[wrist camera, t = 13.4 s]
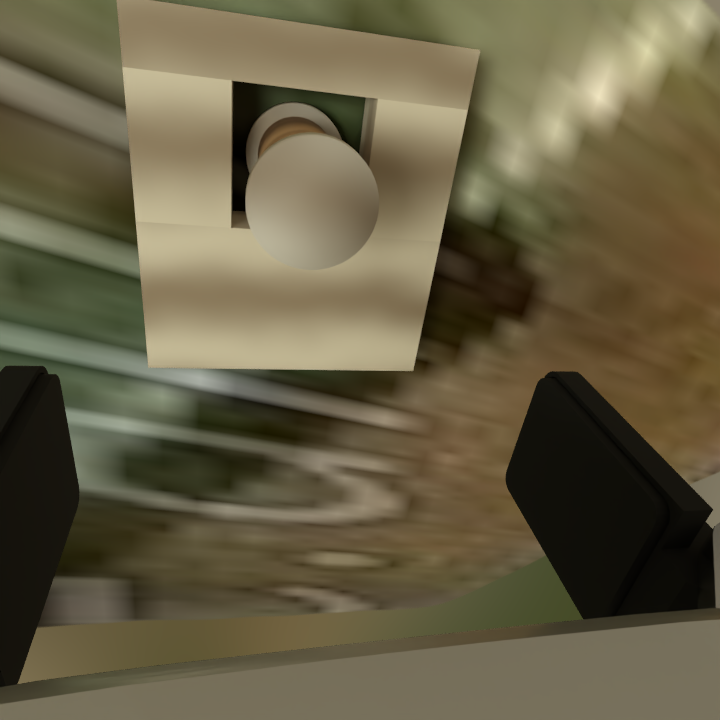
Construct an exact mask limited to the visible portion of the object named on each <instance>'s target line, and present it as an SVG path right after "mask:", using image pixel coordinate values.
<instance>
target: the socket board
mask: <svg viewBox="0 0 720 720" xmlns="http://www.w3.org/2000/svg"><path fill="white" fill-rule="evenodd" d="M117 9H118V20H119V32H120V43H121V55H122V66H123V78H124V89H125V101H126V113H127V124H128V136H129V147H130V159H131V170H132V182H133V193H134V205H135V217H136V228H137V240H138V251H139V263H140V274H141V286H142V297H143V309H144V321H145V332H146V344H147V355H148V367H149V368H220V369H299V370H378V371H413V369H414V364H415V359H416V354H417V350H418V345H419V340H420V335H421V331H422V326H423V321H424V316H425V312H426V307H427V302H428V297H429V293H430V288H431V283H432V278H433V274H434V269H435V264H436V259H437V255H438V250H439V245H440V240H441V235H442V231H443V226H444V221H445V216H446V212H447V207H448V202H449V197H450V193H451V188H452V183H453V178H454V174H455V169H456V164H457V159H458V155H459V150H460V145H461V140H462V136H463V131H464V126H465V121H466V116H467V112H468V107H469V102H470V97H471V93H472V88H473V83H474V78H475V74H476V69H477V64H478V59H479V55H480V50H477V49H470V48H463V47H457V46H450V45H444V44H437V43H430V42H424V41H417V40H411V39H404V38H397V37H391V36H384V35H377V34H371V33H364V32H358V31H351V30H344V29H338V28H331V27H325V26H318V25H311V24H305V23H298V22H292V21H285V20H278V19H272V18H265V17H258V16H252V15H245V14H239V13H232V12H225V11H219V10H212V9H206V8H199V7H192V6H186V5H179V4H172V3H166V2H159V1H153V0H117ZM233 81H239V82H247V83H255V84H263V85H271V86H279V87H287V88H295V89H304V90H312V91H320V92H328V93H336V94H344V95H352V96H360V97H366V100H365V108H364V116H363V125H362V133H361V141H360V150H359V155H360V156H361V157H362V159H363V160H364V161H365V162H366V164H367V165H368V167H369V168H370V170H371V172H372V174H373V176H374V178H375V181H376V184H377V188H378V194H379V213H378V217H377V222H376V224H375V227H374V230H373V232H372V234H371V236H370V237H369V239H368V241H367V242H366V243H365V245H364V246H363V247H362V248H361V249H360V250H359V251H358V252H357V253H356V254H355V255H354V256H352V257H351V258H350V259H348V260H346V261H345V262H343V263H341V264H339V265H336V266H334V267H330V268H326V269H320V270H304V269H298V268H294V267H291V266H288V265H285V264H283V263H281V262H279V261H278V260H276V259H275V258H273V257H272V256H270V255H269V254H268V253H267V252H266V251H265V250H264V249H263V248H262V247H261V246H260V244H259V243H258V242H257V240H256V239H255V237H254V235H253V233H252V231H251V229H250V226H249V223H248V220H247V215H246V212H243V211H232V198H233Z"/></svg>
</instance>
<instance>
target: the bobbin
mask: <svg viewBox="0 0 720 720" xmlns="http://www.w3.org/2000/svg"><path fill="white" fill-rule="evenodd" d="M246 161H247V166H248V170H249V173H250V175H249V178H248V182H247V186H246V196H245V205H246V215H247V220H248V223H249V226H250V229H251V231H252V233H253V235H254V237H255V239H256V240H257V242H258V243H259V244H260V246H261V247H262V248H263V249H264V250H265V251H266V252H267V253H268V254H269V255H270V256H272V257H273V258H275V259H276V260H278V261H279V262H281V263H283V264H285V265H288V266H291V267H294V268H298V269H304V270H320V269H326V268H330V267H334V266H336V265H339V264H341V263H343V262H345V261H346V260H348V259H350V258H351V257H352V256H354V255H355V254H356V253H357V252H358V251H359V250H360V249H361V248H362V247H363V246H364V245H365V243H366V242H367V241H368V239H369V237H370V236H371V234H372V232H373V230H374V227H375V224H376V222H377V217H378V213H379V194H378V188H377V184H376V181H375V178H374V176H373V174H372V172H371V170H370V168H369V167H368V165H367V164H366V162H365V161H364V160H363V159H362V157H361V156H360V155H359V154H358V153H357V152H356V151H355V150H354V149H353V148H352V147H351V146H350V145H348V144H347V143H345V142H344V141H342V139H341V136H340V134H339V132H338V130H337V128H336V127H335V125H334V124H333V123H332V121H331V120H330V119H329V118H328V117H327V116H326V115H325V114H324V113H323V112H322V111H320V110H319V109H317V108H315V107H313V106H311V105H309V104H306V103H302V102H283V103H279V104H277V105H274V106H272V107H270V108H269V109H267V110H266V111H264V112H263V113H262V114H261V115H260V116H259V117H258V118H257V119H256V121H255V122H254V124H253V125H252V127H251V129H250V132H249V134H248V138H247V143H246Z"/></svg>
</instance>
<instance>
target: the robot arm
mask: <svg viewBox="0 0 720 720" xmlns="http://www.w3.org/2000/svg"><path fill="white" fill-rule="evenodd" d="M506 485H507V488H508V490H509V492H510V494H511V495H512V497H513V499H514V500H515V502H516V504H517V506H518V507H519V509H520V511H521V513H522V514H523V516H524V518H525V519H526V521H527V523H528V525H529V526H530V528H531V530H532V531H533V533H534V535H535V537H536V538H537V540H538V542H539V544H540V545H541V547H542V549H543V550H544V552H545V554H546V556H547V557H548V559H549V561H550V562H551V564H552V566H553V568H554V569H555V571H556V573H557V575H558V576H559V578H560V580H561V581H562V583H563V585H564V587H565V588H566V590H567V592H568V594H569V595H570V597H571V599H572V601H573V602H574V604H575V606H576V607H577V609H578V611H579V613H580V614H581V616H582V618H583V619H584V620H574V621H564V622H554V623H544V624H534V625H524V626H514V627H505V628H495V629H486V630H476V631H467V632H457V633H448V634H438V635H429V636H419V637H410V638H401V639H392V640H382V641H373V642H364V643H354V644H345V645H335V646H326V647H318V648H309V649H301V650H291V651H282V652H273V653H264V654H256V655H246V656H237V657H228V658H219V659H211V660H201V661H192V662H184V663H175V664H166V665H157V666H149V667H143V668H134V669H127V670H119V671H111V672H103V673H95V674H88V675H79V676H71V677H64V678H56V679H49V680H41V681H34V682H28V683H22V684H17V683H18V681H19V678H20V675H21V672H22V669H23V667H24V664H25V661H26V657H27V655H28V652H29V648H30V646H31V643H32V640H33V637H34V634H35V631H36V628H37V625H38V622H39V619H40V616H41V614H42V611H43V608H44V605H45V602H46V599H47V596H48V593H49V590H50V587H51V584H52V581H53V578H54V575H55V572H56V569H57V566H58V563H59V561H60V558H61V555H62V552H63V549H64V546H65V543H66V540H67V537H68V534H69V531H70V528H71V525H72V522H73V519H74V516H75V513H76V510H77V507H78V502H79V484H78V479H77V473H76V468H75V462H74V457H73V451H72V446H71V440H70V434H69V429H68V423H67V418H66V412H65V407H64V401H63V395H62V390H61V384H60V380H59V377H58V376H57V375H56V374H48V372H47V370H46V368H45V367H43V366H5V367H4V368H3V369H2V370H1V372H0V720H720V523H718V524H717V525H716V526H714V528H713V529H712V528H711V527H710V526H709V525H708V524H707V523H706V520H707V518H708V517H709V515H710V514H711V512H712V511H713V509H712V508H711V507H710V506H709V505H708V504H707V503H706V502H705V501H704V500H703V499H702V498H701V497H700V496H699V495H698V494H697V493H696V492H695V490H693V488H691V486H690V485H689V484H688V483H687V482H686V481H685V480H684V479H683V478H682V477H681V476H680V475H679V474H678V473H677V472H676V471H675V470H674V469H673V468H672V467H671V466H670V465H669V464H668V463H667V462H666V461H665V460H664V459H663V458H662V457H661V456H660V455H659V454H658V453H657V452H656V451H655V450H654V449H653V448H652V447H651V446H650V445H649V444H648V443H647V442H646V441H645V440H644V439H643V437H642V436H641V435H640V434H639V433H638V432H637V431H636V430H635V429H634V428H633V427H632V426H631V425H630V424H629V423H628V422H627V421H626V420H625V419H624V418H623V417H622V416H621V415H620V414H619V413H618V412H617V411H616V410H615V409H614V408H613V407H612V406H611V405H610V404H609V403H608V402H607V401H606V400H605V399H604V398H603V397H602V396H601V395H600V394H599V393H598V392H597V391H596V390H595V389H594V388H593V387H592V385H591V384H590V383H589V382H588V381H587V380H586V379H585V378H584V377H583V376H582V375H581V374H579V373H578V372H554V371H552V372H549V373H548V374H547V375H546V376H545V378H542V379H540V380H539V381H538V383H537V386H536V389H535V391H534V394H533V397H532V400H531V403H530V406H529V409H528V411H527V414H526V417H525V420H524V423H523V426H522V429H521V431H520V434H519V437H518V440H517V443H516V446H515V449H514V451H513V454H512V457H511V460H510V463H509V466H508V469H507V472H506Z"/></svg>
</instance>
